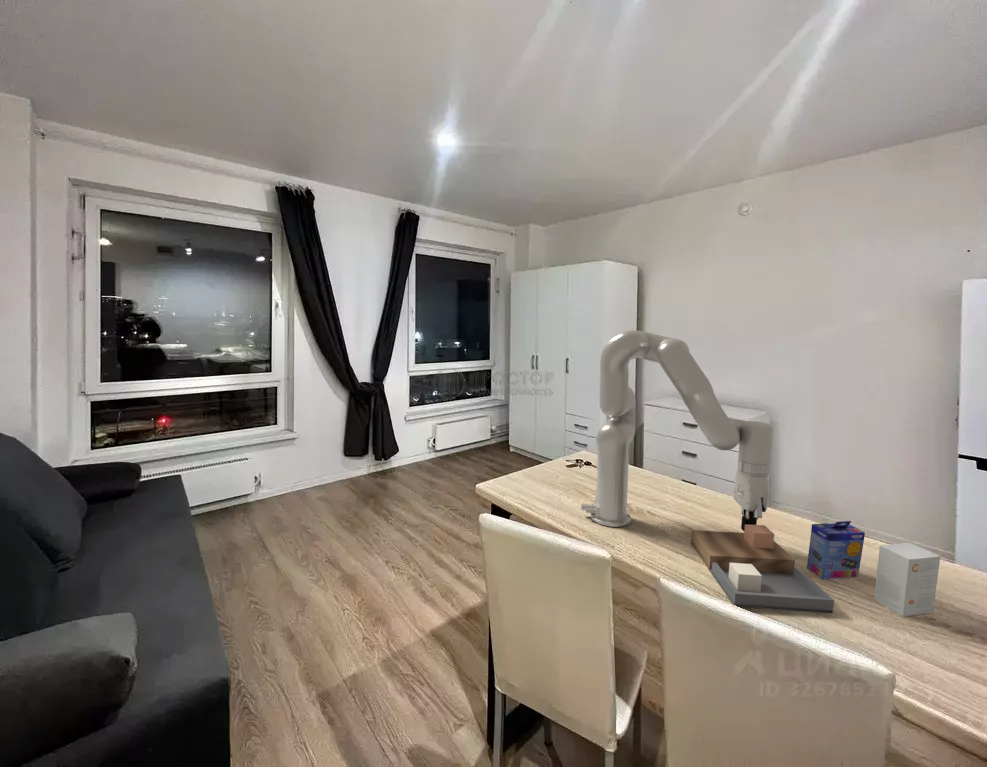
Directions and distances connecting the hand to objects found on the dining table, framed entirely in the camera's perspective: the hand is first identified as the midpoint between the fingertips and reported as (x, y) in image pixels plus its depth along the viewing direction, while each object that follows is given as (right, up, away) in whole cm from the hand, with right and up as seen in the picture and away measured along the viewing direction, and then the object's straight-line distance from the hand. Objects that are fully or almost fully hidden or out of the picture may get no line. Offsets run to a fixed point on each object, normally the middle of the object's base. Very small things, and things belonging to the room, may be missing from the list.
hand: (748, 530), depth 121 cm
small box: (+19, -8, -25) cm, 33 cm away
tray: (-7, -7, -20) cm, 22 cm away
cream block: (-12, -2, -19) cm, 23 cm away
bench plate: (-6, -5, -5) cm, 10 cm away
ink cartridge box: (+14, -7, -13) cm, 20 cm away
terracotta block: (-1, -1, -6) cm, 6 cm away
